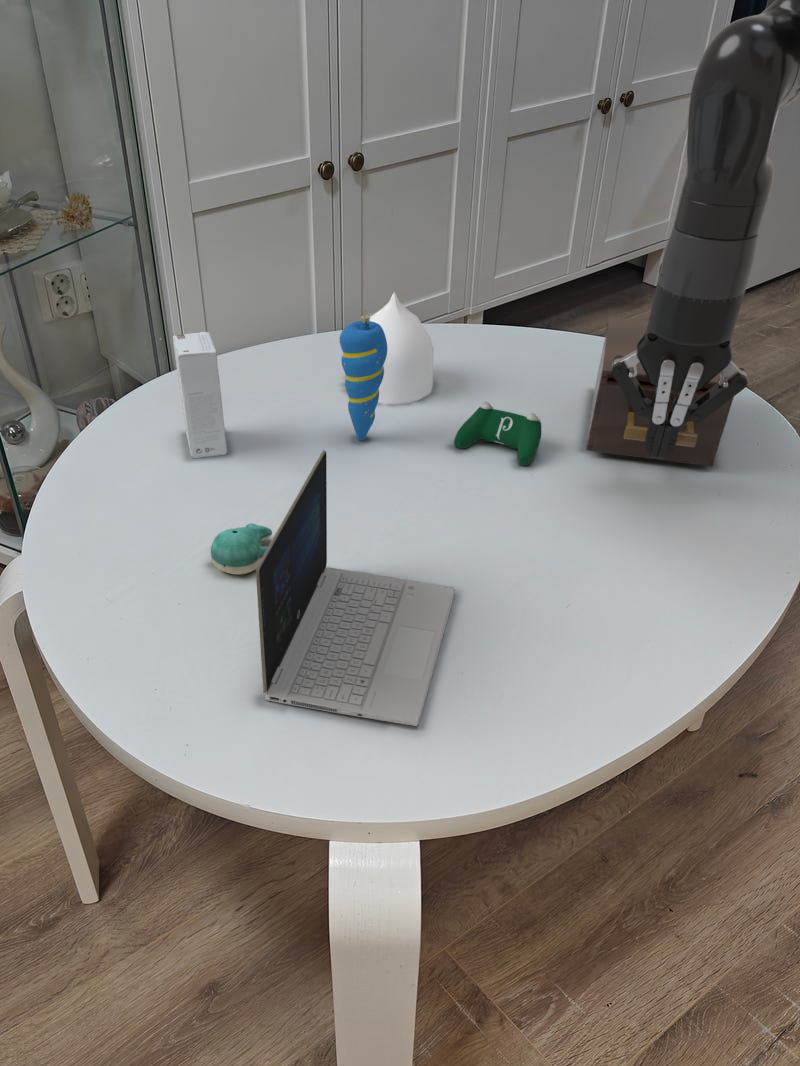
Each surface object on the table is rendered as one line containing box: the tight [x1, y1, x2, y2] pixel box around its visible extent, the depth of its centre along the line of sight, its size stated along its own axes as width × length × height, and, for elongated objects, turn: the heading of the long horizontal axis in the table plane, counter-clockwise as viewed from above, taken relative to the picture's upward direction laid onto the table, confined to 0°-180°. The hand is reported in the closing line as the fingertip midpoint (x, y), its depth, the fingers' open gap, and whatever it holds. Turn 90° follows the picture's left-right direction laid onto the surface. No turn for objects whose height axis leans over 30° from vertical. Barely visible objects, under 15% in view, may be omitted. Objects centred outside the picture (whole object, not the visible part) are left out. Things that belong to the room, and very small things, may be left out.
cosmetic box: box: [172, 331, 228, 459], centre depth 100 cm, size 6×4×12 cm
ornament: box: [339, 309, 387, 442], centre depth 100 cm, size 5×5×15 cm
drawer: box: [591, 378, 729, 467], centre depth 100 cm, size 19×12×8 cm, turn 164°
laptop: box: [255, 449, 456, 727], centre depth 73 cm, size 18×12×13 cm
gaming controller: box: [453, 401, 542, 467], centre depth 102 cm, size 9×4×6 cm
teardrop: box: [369, 291, 435, 405], centre depth 112 cm, size 11×11×12 cm
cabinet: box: [585, 317, 735, 467], centre depth 104 cm, size 16×14×10 cm
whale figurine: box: [210, 523, 273, 575], centre depth 86 cm, size 6×7×4 cm
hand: (657, 454), depth 93 cm, fingers closed
